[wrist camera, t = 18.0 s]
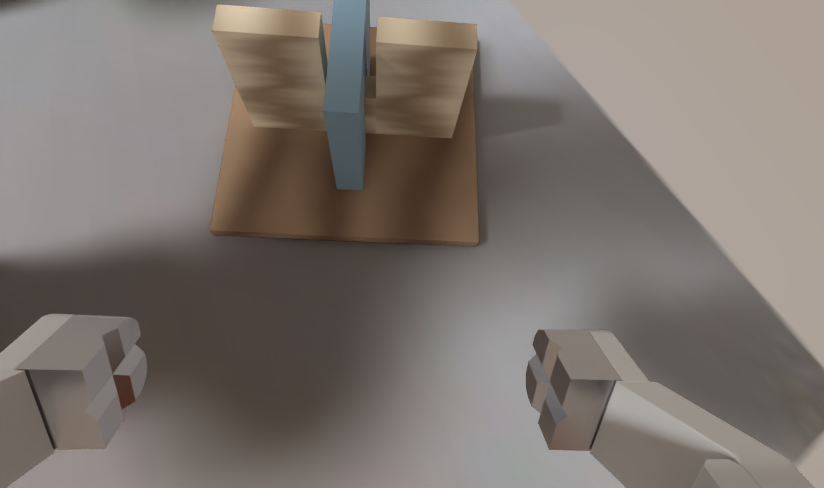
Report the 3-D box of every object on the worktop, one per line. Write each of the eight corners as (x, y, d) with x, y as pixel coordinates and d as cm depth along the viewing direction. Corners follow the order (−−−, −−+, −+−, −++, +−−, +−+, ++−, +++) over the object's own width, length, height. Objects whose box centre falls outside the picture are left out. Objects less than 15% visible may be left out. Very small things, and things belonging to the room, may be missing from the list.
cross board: (213, 235, 34) (144, 161, 24) (250, 26, 41) (208, -101, 31) (476, 246, 36) (517, 181, 25) (470, 42, 42) (500, -75, 32)
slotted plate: (362, 190, 35) (358, 113, 26) (336, 189, 35) (323, 111, 26) (370, 65, 39) (368, -42, 30) (346, 63, 39) (338, -45, 30)
